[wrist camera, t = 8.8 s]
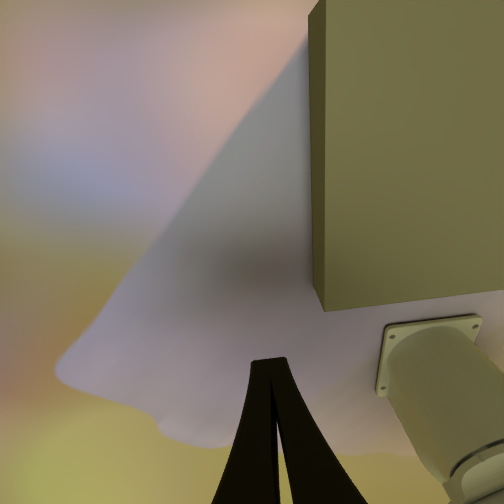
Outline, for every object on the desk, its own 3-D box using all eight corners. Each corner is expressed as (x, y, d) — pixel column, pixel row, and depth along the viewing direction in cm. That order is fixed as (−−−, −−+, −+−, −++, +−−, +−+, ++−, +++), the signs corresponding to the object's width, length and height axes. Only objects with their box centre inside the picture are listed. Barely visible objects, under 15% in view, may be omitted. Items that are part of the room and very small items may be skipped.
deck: (498, 261, 20) (537, 285, 17) (313, 285, 20) (324, 312, 18) (607, -31, 12) (708, -70, 10) (308, 15, 13) (326, -10, 10)
